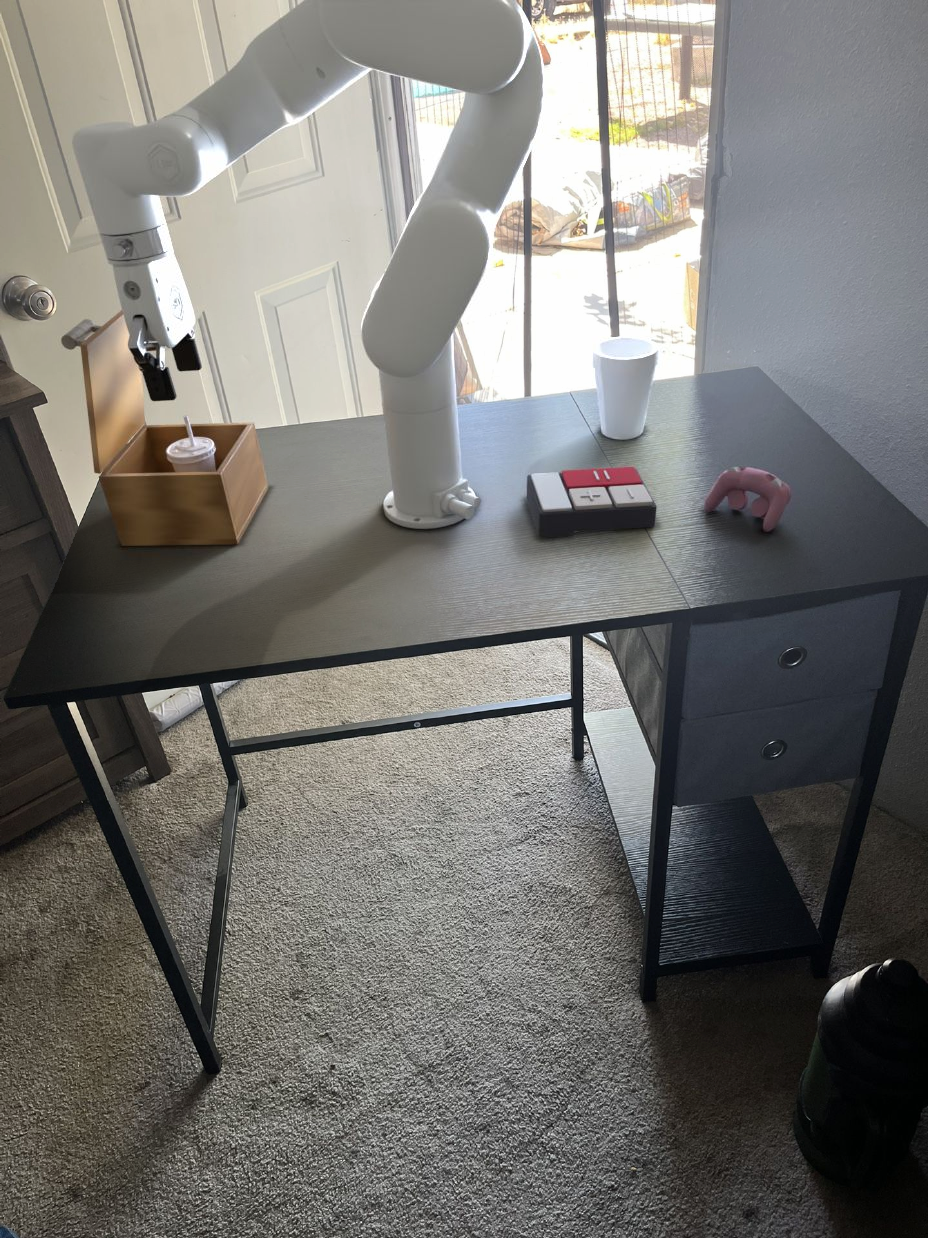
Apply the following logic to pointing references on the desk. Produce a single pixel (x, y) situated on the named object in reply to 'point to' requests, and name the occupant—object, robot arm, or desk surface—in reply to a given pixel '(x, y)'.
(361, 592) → the desk surface
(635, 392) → the foam cup
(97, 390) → the box lid
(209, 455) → the smoothie
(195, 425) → the box
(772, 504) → the video game controller
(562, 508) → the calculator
